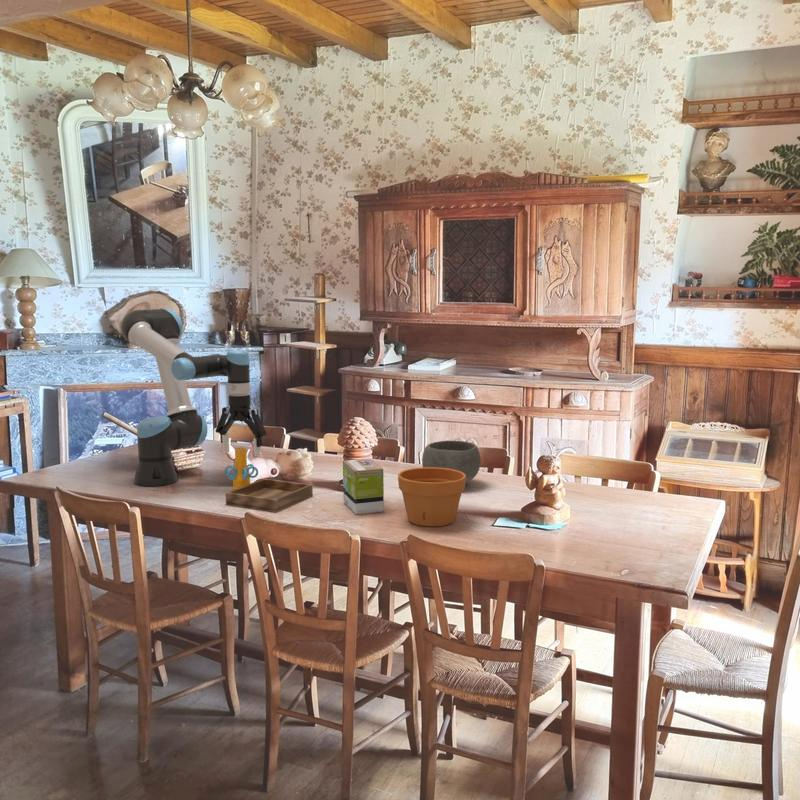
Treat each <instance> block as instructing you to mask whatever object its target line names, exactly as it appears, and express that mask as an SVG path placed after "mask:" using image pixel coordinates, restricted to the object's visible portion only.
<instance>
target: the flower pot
mask: <svg viewBox="0 0 800 800" xmlns="http://www.w3.org/2000/svg"><path fill="white" fill-rule="evenodd" d="M397 481H398V489H399V490H400V491H401V494H402V498H403V504H404V508H405V511H406V516H407V518H408V521H409V522H410V523H412V524H413V525H417V526H422V527H432V528H433V527H434V528H435V527H444V526H448V525H451V524H453V523H454V522H455V520H456V517H457V513H458V509H459V506H460V500H461V497H462V494H463V492H464V491H465V489H466V484H465V482H466V475H465V474H464V473H463V472H461V471H458V470H454V469H448V468H437V467H424V468H423V467H414V468H408V469H404V470H401V471H400V472H399V473H398V474H397Z"/></svg>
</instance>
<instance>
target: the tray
mask: <svg viewBox="0 0 800 800" xmlns="http://www.w3.org/2000/svg"><path fill="white" fill-rule="evenodd" d="M313 487H314V486H313V484H309V483H308V484H307V483H301V482H293V481H287V480H281V479H280V480H279V479H272V478H266V477H264V478H262V479H259V480H256V481H254V482H250V484H248V485H246V486H243V487H240V488H238V489H235V490H233V489H232V490H231V491H228V492H225V505H226V506H233V507H238V508H244V509H245V508H246V509H253V510H259V511H264V512H270V513H278V512H280V511H283V510H284V509H287V508H289V507H291V506H293V505H296V504H298V503H300V502H303V501H305V500H307V499H310V498H312V497H314V494H313V492H314V491H313V490H314V489H313Z"/></svg>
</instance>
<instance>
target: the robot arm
mask: <svg viewBox="0 0 800 800" xmlns="http://www.w3.org/2000/svg"><path fill="white" fill-rule="evenodd" d="M183 330H184V329H183V323H182V319H181V317H180V315H179V314H178V313H177V312H176V311H174V310H173V309H170V308H157V309H156V308H154V309H153V308H152V309H135V310H132V311H129V312H128V313H127V314H126V315H124V318H122V321H121V324H120V331H121V335H122V337H123V338H124V339H125V341H127V342H128V343H129V344H131V345H132V346H134V347H140V348H142V349H143V350H144V351H146V352H147V353H149V354H150V355H151V356H152V357H154V358H155V362H156V365H157V369H158V372H159V376H160V382H161V385H162V389H163V393H164V394H163V395H164V398H165V402H166V405H167V414H166V415H160V416H159V415H158V416H152V417H151V416H150V417H148V418H144V419H141V420H140V421H139V422H138V423H137V427H136V429H137V430H136V437H137V453H138V456H137V457H138V462H137V463H138V464H137V467H136V471H135V474H134V477H133V478H134V480H133V481H134V485H137V486H141V487H161V486H167V485H171V484H175V483H176V482H177V481H178V474H177V472H176V469H175V465H174V464H173V460H172V451H177V450H181V449H183V450H184V449H188V448H193V447H197V446H200V445H202V444H203V443H204V442H205V440H206V437H207V435H208V422H207V420H206V418H204V415H202V414H199V413H198V409H197V408H195V407H194V406H192V403H191V398H190V395H189V392H188V386H187V383H186V381H190V380H195V379H196V380H197V379H202V378H203V379H206V378H212V377H227V385H228V386H227V389H228V405H229V406H224V407H222V409H221V415H220V417H219V419H218V423H217V425H216V428H215V433H218V434H219V435H220V444H222V454H227V453H230V439H229V438H230V436H229V433H228V432H229V430H230V428H231V427H232V426H233V424H234V423H235V422H238V421H239V422H244V423H245V424H246V425H247V427H248V428H249V430H250V431H251V433H252V434H253V435H254V437H253V457H255V458H256V457H259V456H261V447H262V446H263V440H262V438H263V437H265V436H267V431H266V427H264V425H263V422H262V419H261V417H260V414H259V409H258V408H254V409H251V395H250V394H251V382H250V381H251V380H250V378H251V377H250V376H251V375H250V370H251V369H250V364H251V363H250V354H249V351H248V350H245V349H232V350H231V349H230V350H228V351H227V352H226V354H219V353H215V354H214V353H211V354H208V355H200V356H192V354H190V353H188V352H186V351H185V350H183V349H182V348H180V347H179V346H178V344H179V342H180V337H181V336H182V334H183ZM229 415H230V416H229Z"/></svg>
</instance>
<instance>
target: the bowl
mask: <svg viewBox="0 0 800 800" xmlns="http://www.w3.org/2000/svg"><path fill="white" fill-rule="evenodd" d="M481 458H482V457H481V454H480V451H479V448H478V446H477V445H476V443H473V442H469V441H465V440H464V441H463V440H440V441H434V442H430V443H429V444H427V445H426V446H425V448H424V450H423V453H422V458H421V462H422V463H421V465H422V468H424V467H437V468H448V469H454V470H458V471H461V472H463V473H464V474H465V475H466V482H465V485H466V484H468V483H470V482H471V481H472V480H474V478H475V477H477V475H478V473H479V470H480V467H481V462H482V461H481Z"/></svg>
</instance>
